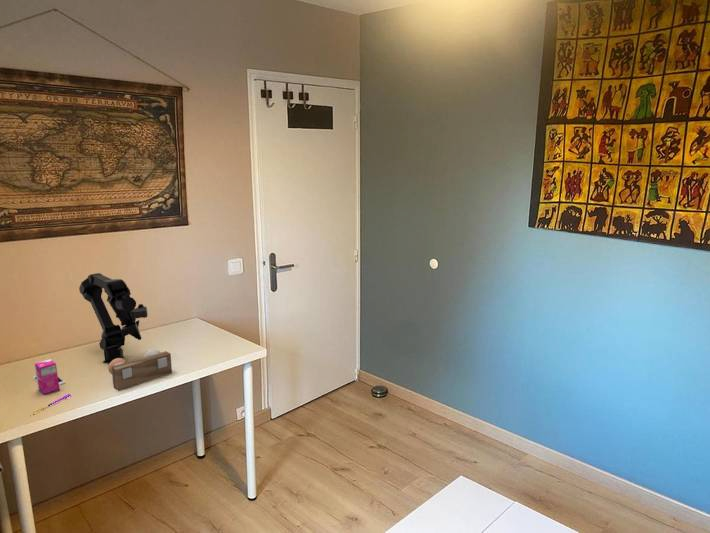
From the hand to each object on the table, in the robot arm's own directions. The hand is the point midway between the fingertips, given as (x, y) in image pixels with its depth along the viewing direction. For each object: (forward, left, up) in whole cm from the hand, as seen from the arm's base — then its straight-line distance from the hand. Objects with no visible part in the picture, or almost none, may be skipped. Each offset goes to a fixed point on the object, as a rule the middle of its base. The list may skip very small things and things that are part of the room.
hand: (140, 339), depth 216 cm
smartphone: (-31, -17, -12) cm, 37 cm away
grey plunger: (+11, -11, -8) cm, 17 cm away
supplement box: (-26, -26, -11) cm, 38 cm away
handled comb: (-18, -37, -12) cm, 43 cm away
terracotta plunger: (0, -20, -8) cm, 22 cm away
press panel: (+7, -17, -11) cm, 21 cm away
